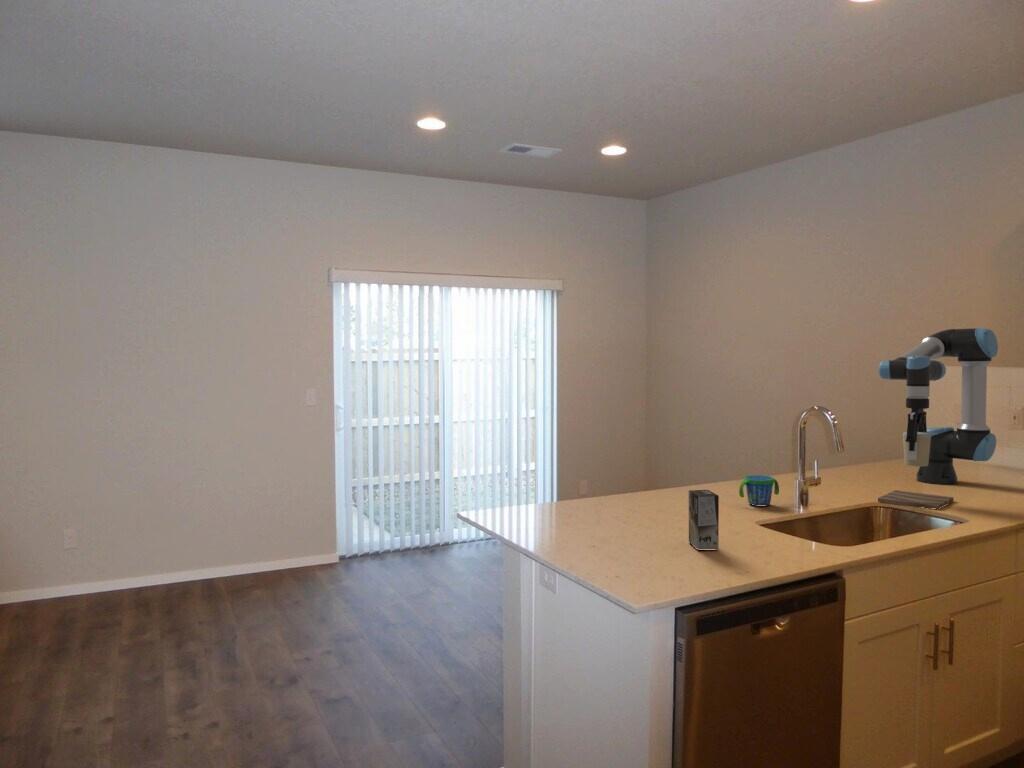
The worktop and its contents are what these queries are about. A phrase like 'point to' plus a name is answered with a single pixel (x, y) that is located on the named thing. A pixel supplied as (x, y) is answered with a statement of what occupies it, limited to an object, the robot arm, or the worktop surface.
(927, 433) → the coffee cup
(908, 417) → the robot arm
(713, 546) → the coffee box
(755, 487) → the snack cup
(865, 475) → the worktop surface
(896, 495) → the walnut board
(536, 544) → the worktop surface
